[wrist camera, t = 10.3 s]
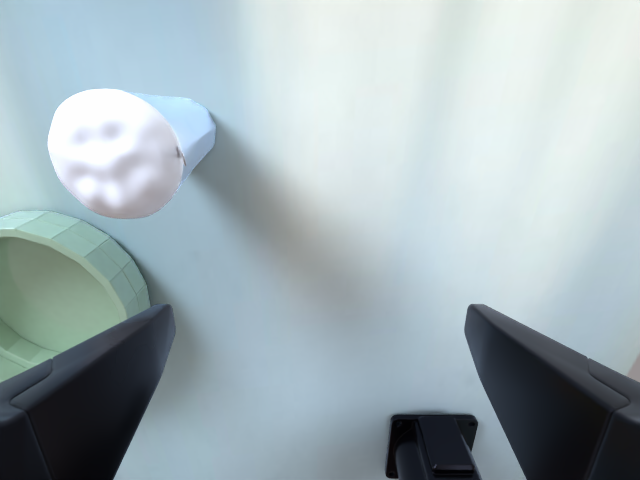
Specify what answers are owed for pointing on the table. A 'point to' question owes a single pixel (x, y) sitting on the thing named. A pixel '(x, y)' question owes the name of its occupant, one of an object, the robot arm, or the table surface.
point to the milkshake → (127, 149)
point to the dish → (59, 287)
